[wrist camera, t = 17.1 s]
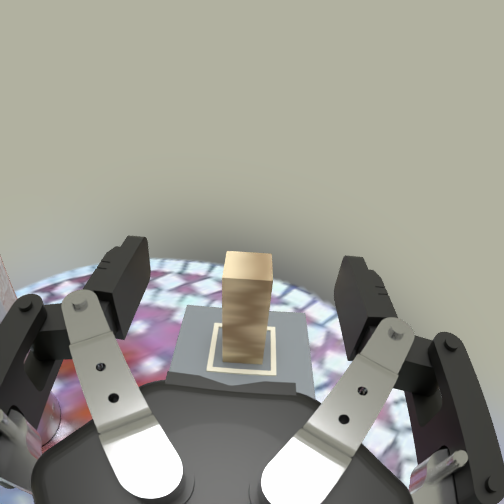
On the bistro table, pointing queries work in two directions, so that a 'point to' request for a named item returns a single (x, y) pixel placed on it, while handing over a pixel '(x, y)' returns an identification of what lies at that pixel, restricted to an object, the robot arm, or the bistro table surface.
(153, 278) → the bistro table surface
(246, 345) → the maple block
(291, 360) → the grey rectangular slab
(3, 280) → the cracker box
